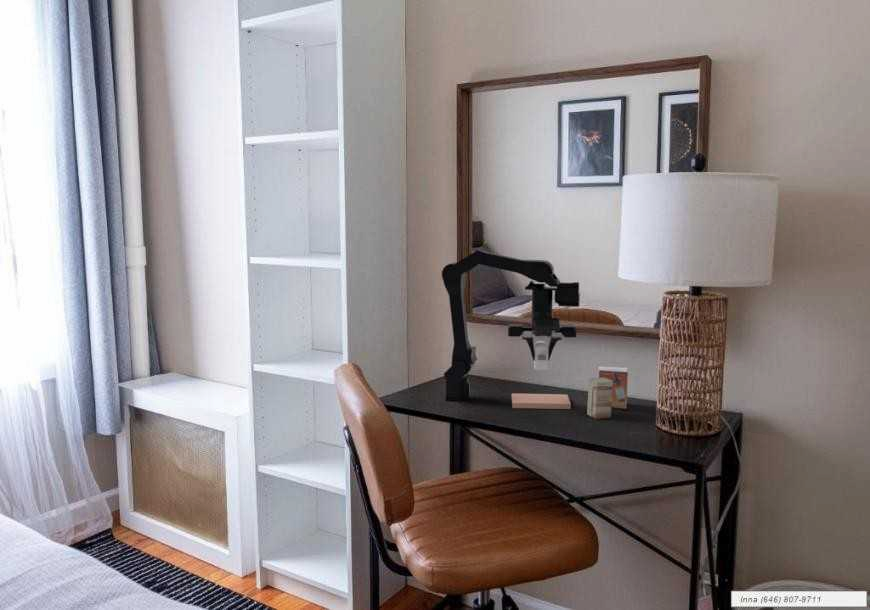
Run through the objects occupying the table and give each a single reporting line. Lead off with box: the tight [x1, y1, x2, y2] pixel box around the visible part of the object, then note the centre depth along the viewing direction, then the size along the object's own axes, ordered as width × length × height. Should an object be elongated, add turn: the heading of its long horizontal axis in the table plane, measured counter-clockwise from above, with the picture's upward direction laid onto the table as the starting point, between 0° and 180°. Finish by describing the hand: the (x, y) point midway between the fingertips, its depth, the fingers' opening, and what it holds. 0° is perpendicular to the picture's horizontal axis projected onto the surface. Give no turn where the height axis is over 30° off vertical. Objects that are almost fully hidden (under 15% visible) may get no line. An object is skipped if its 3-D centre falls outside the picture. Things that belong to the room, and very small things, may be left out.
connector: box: [533, 340, 549, 371], centre depth 202 cm, size 4×6×7 cm, turn 175°
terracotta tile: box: [511, 393, 572, 410], centre depth 204 cm, size 16×10×2 cm, turn 85°
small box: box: [597, 366, 629, 409], centre depth 202 cm, size 8×6×10 cm
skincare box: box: [586, 377, 613, 420], centre depth 192 cm, size 5×4×10 cm
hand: (540, 360), depth 203 cm, fingers closed on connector, 4 cm apart
